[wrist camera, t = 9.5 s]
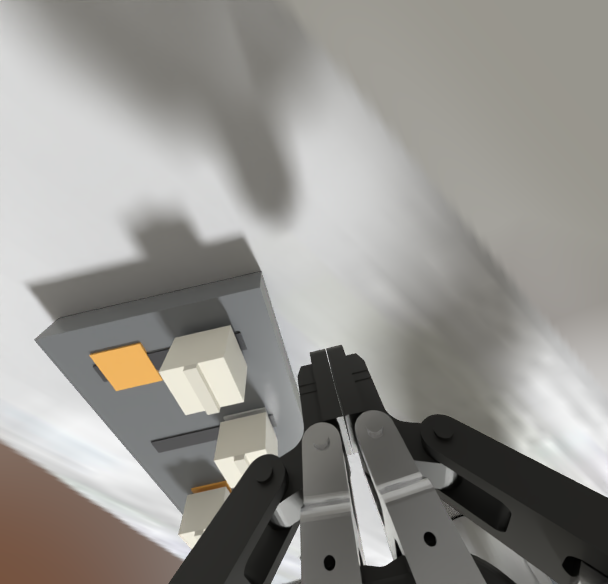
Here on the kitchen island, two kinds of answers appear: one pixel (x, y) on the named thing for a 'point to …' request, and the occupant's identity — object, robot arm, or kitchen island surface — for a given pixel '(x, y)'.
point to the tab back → (200, 513)
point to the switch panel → (153, 390)
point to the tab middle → (243, 445)
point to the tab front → (205, 371)
